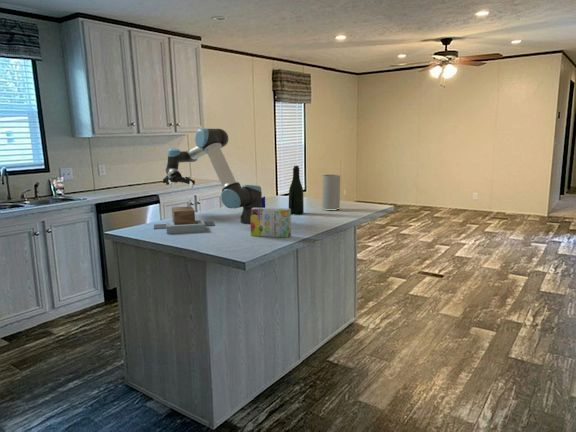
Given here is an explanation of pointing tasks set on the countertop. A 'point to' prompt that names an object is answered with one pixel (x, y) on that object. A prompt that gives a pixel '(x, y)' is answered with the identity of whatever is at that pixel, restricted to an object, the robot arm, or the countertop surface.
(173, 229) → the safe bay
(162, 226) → the mats
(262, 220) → the snack box
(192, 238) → the countertop surface
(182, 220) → the walnut block
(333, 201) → the cylinder vase
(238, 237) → the countertop surface
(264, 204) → the puzzle cube
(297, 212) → the beer bottle
